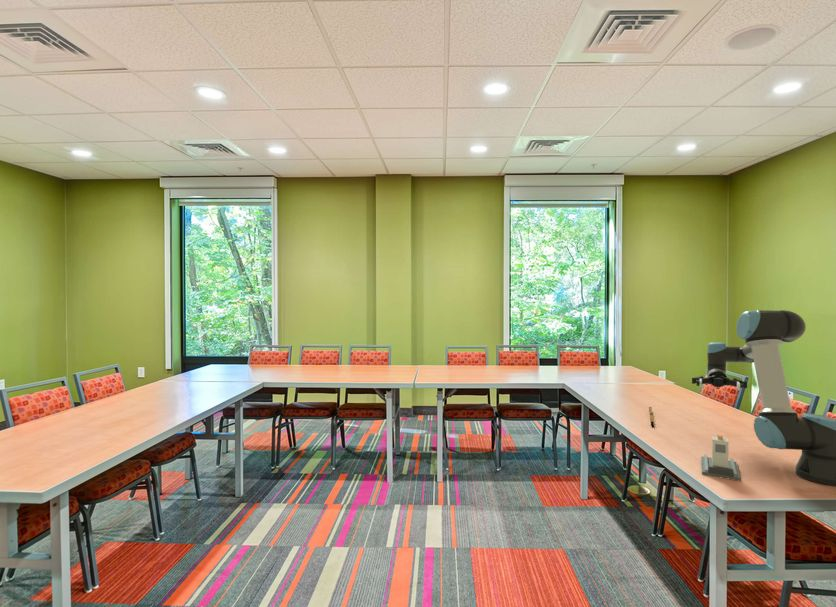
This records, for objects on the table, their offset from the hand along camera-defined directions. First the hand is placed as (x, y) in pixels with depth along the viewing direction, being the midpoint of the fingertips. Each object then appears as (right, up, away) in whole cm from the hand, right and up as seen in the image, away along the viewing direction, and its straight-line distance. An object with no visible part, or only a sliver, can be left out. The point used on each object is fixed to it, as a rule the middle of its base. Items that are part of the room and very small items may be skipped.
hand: (719, 385), depth 187 cm
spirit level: (+1, -30, +57) cm, 64 cm away
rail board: (-10, -30, -14) cm, 35 cm away
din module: (-13, -29, -18) cm, 37 cm away
